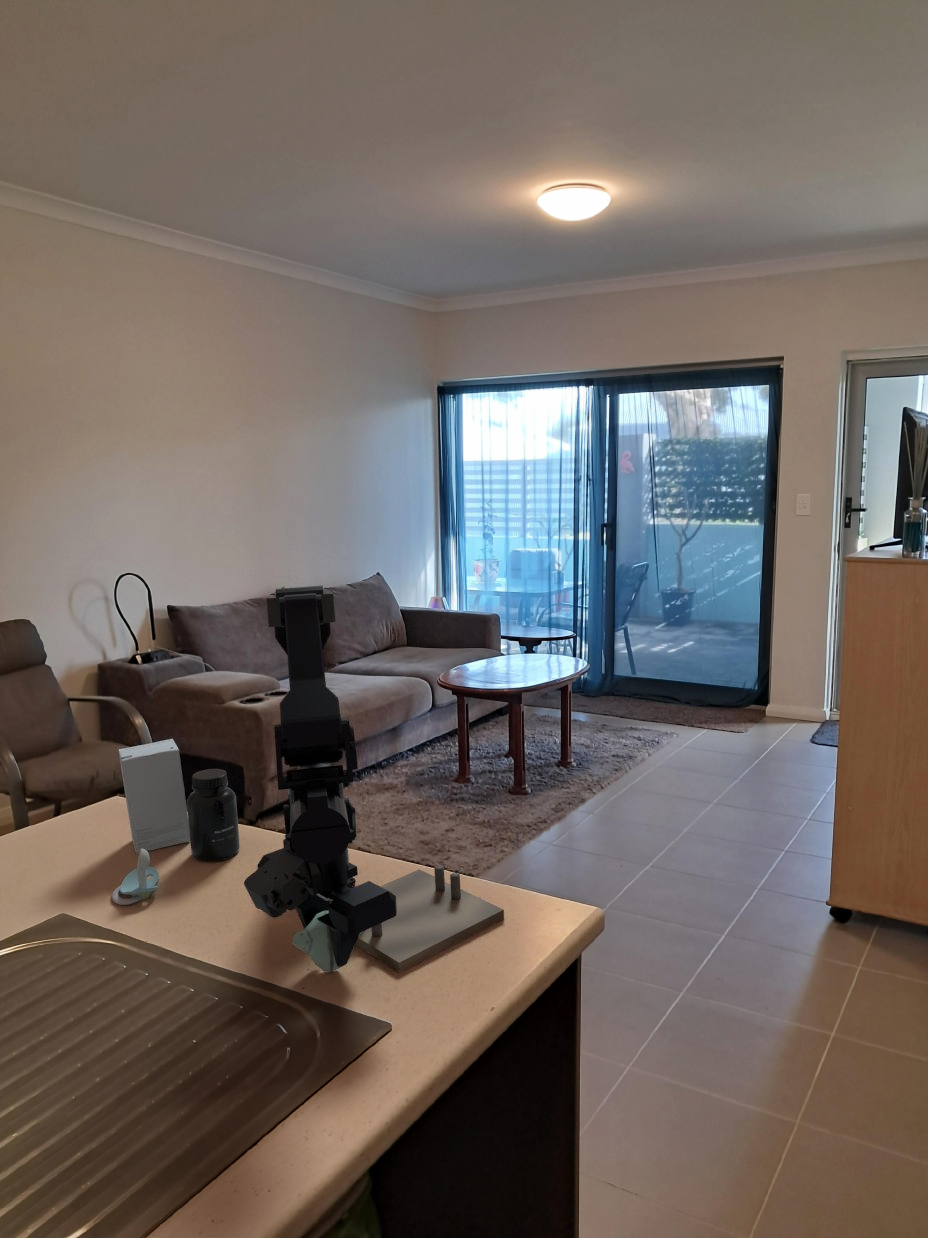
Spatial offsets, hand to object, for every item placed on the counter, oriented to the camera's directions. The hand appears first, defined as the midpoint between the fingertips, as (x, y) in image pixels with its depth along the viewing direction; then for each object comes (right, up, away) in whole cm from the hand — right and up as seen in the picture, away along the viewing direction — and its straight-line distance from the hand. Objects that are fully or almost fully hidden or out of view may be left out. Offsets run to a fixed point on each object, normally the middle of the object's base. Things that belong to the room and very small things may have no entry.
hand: (329, 957), depth 103 cm
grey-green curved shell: (0, -2, 0) cm, 2 cm away
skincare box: (-31, +4, +37) cm, 48 cm away
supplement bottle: (-21, +3, +32) cm, 39 cm away
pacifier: (-28, +1, +21) cm, 35 cm away
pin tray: (+8, +1, +10) cm, 13 cm away
